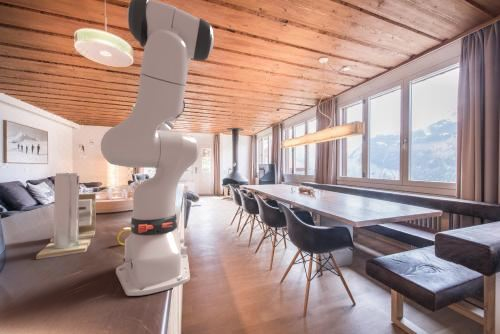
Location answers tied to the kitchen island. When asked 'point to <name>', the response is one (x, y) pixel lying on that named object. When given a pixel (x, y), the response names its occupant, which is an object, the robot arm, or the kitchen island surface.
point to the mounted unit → (86, 216)
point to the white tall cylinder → (66, 210)
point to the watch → (121, 232)
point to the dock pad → (52, 252)
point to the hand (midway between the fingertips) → (143, 148)
